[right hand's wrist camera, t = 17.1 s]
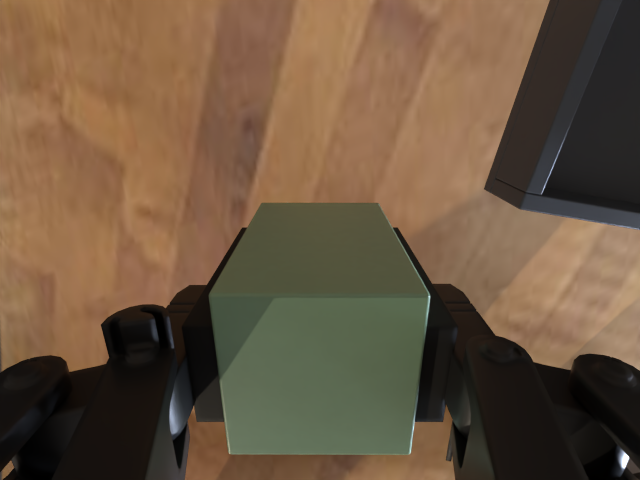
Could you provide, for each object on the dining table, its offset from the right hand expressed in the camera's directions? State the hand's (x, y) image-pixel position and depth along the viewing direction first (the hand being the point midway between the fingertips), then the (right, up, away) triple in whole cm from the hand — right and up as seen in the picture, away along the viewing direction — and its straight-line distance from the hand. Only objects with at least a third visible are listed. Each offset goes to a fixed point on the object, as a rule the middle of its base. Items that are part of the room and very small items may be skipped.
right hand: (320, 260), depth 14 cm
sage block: (0, 0, 0) cm, 0 cm away
